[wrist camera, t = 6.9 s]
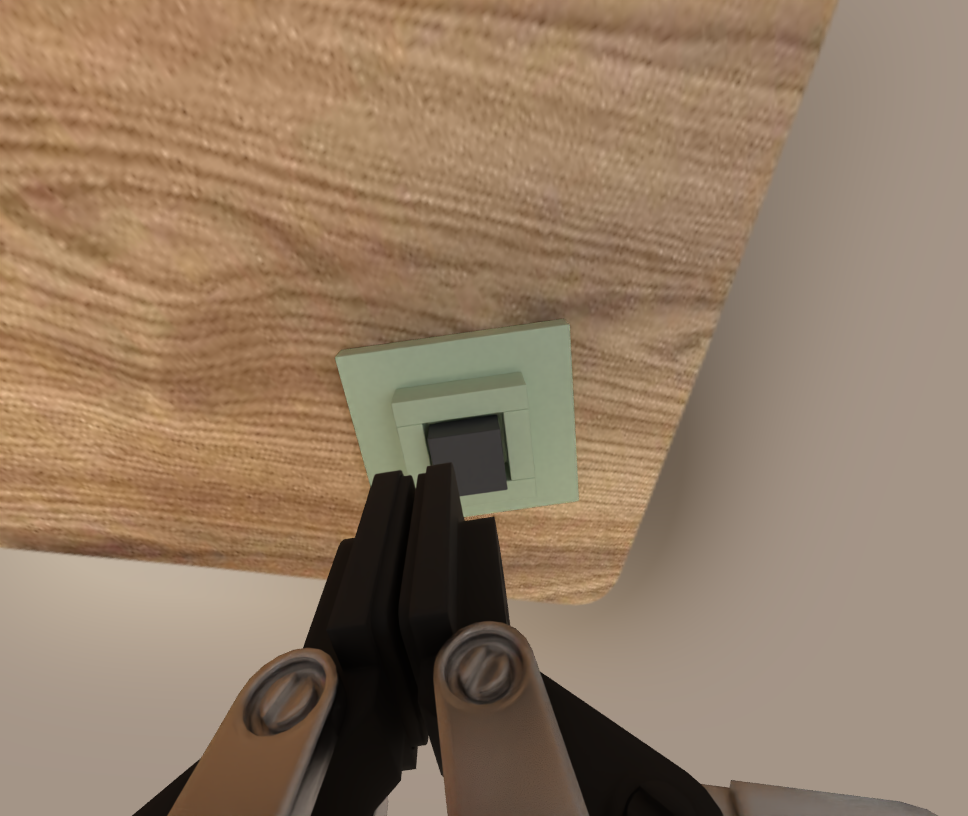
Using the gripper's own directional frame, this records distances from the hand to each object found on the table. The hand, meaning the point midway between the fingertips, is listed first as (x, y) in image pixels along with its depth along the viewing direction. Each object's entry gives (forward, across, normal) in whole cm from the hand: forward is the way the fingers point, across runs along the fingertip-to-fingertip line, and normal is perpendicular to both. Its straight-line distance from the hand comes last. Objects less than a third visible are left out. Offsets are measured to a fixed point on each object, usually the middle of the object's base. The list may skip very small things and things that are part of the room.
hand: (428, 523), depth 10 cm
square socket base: (+13, 0, +4) cm, 14 cm away
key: (+11, 0, +4) cm, 12 cm away
